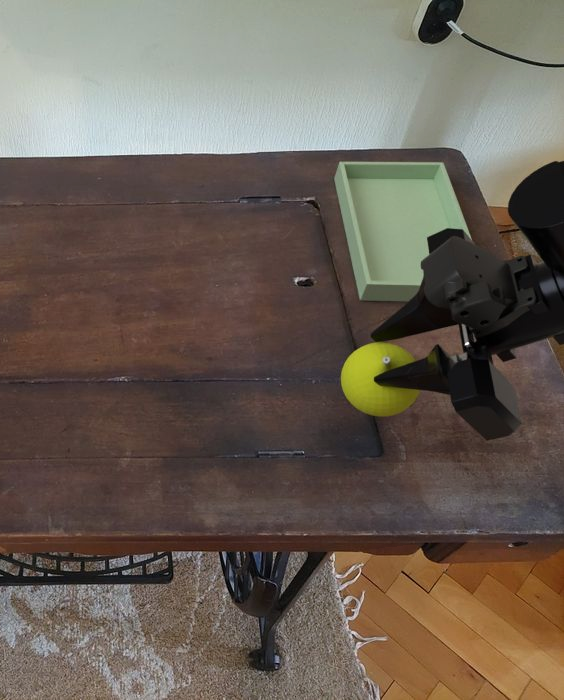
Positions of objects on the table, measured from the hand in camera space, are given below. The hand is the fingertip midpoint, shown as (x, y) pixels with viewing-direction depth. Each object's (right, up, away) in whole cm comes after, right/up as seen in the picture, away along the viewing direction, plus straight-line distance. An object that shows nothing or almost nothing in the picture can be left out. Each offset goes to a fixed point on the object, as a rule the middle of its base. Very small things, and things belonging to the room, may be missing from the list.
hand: (374, 359), depth 60 cm
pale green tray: (+15, +16, +27) cm, 35 cm away
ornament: (+2, -4, +5) cm, 7 cm away
